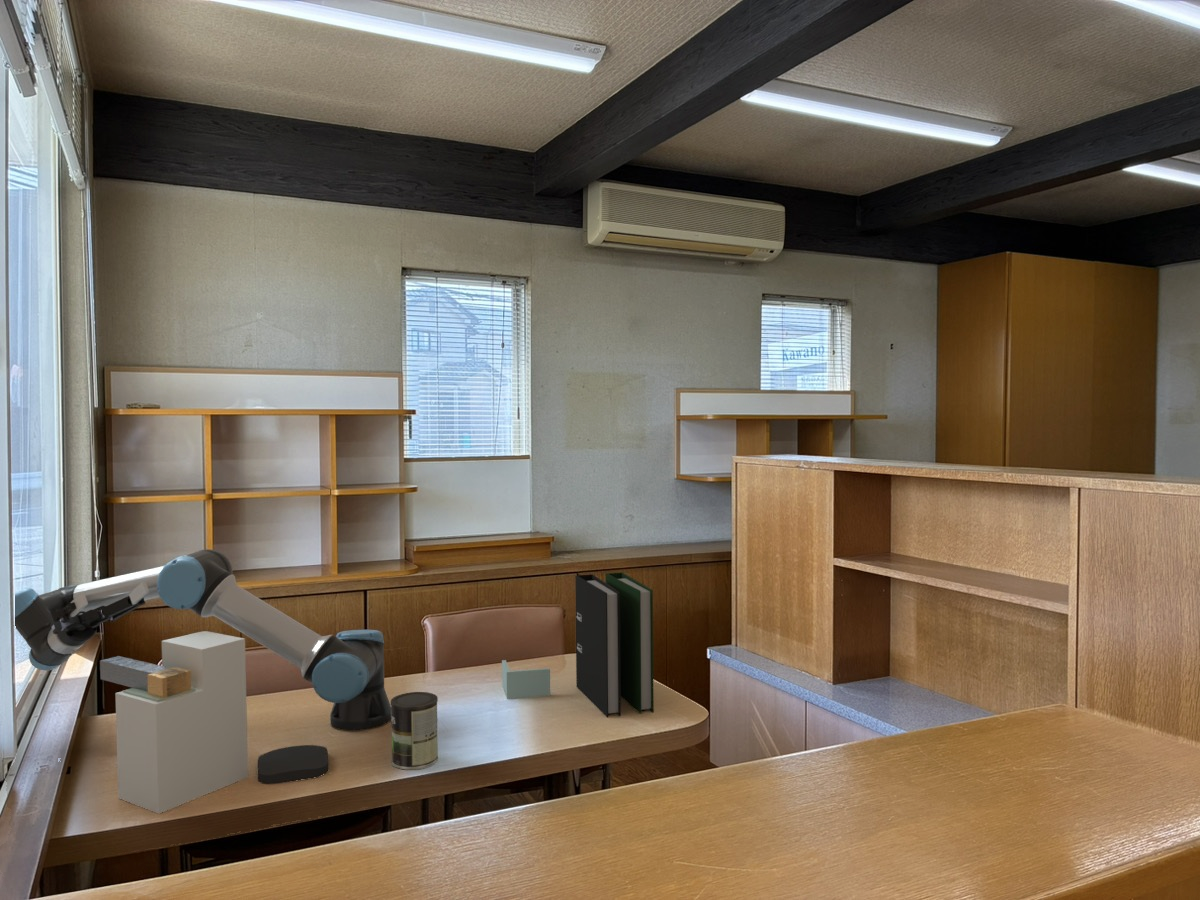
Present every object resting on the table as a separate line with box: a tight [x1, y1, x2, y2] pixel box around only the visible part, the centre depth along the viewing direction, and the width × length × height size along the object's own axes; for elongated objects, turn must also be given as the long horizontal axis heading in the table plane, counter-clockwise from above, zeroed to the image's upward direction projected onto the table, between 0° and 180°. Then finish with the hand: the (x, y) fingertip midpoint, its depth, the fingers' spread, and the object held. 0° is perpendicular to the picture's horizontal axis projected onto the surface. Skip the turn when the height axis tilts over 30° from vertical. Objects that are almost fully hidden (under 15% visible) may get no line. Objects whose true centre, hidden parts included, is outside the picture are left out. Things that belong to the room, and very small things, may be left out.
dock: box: [114, 630, 249, 815], centre depth 179 cm, size 14×20×30 cm
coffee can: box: [390, 691, 439, 771], centre depth 192 cm, size 10×10×14 cm
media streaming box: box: [256, 744, 329, 785], centre depth 189 cm, size 15×15×3 cm
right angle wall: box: [501, 659, 551, 700], centre depth 242 cm, size 12×12×8 cm
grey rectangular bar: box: [99, 655, 191, 698], centre depth 177 cm, size 24×6×4 cm, turn 59°
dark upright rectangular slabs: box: [574, 572, 655, 718], centre depth 233 cm, size 27×15×32 cm, turn 17°
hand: (116, 592), depth 189 cm, fingers open, 13 cm apart
